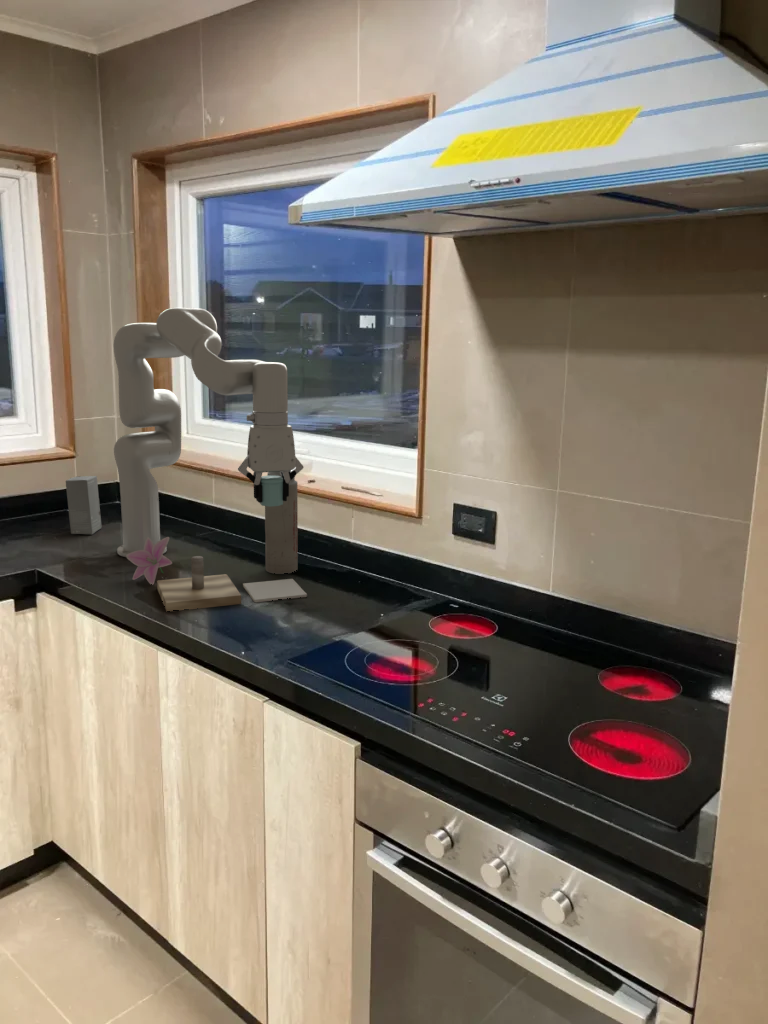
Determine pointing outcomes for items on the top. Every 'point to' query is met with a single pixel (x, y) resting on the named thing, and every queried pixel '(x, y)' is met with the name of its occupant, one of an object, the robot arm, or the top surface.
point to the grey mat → (274, 590)
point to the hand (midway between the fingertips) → (271, 499)
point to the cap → (272, 490)
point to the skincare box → (83, 504)
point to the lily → (149, 559)
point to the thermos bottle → (282, 533)
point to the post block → (198, 590)
